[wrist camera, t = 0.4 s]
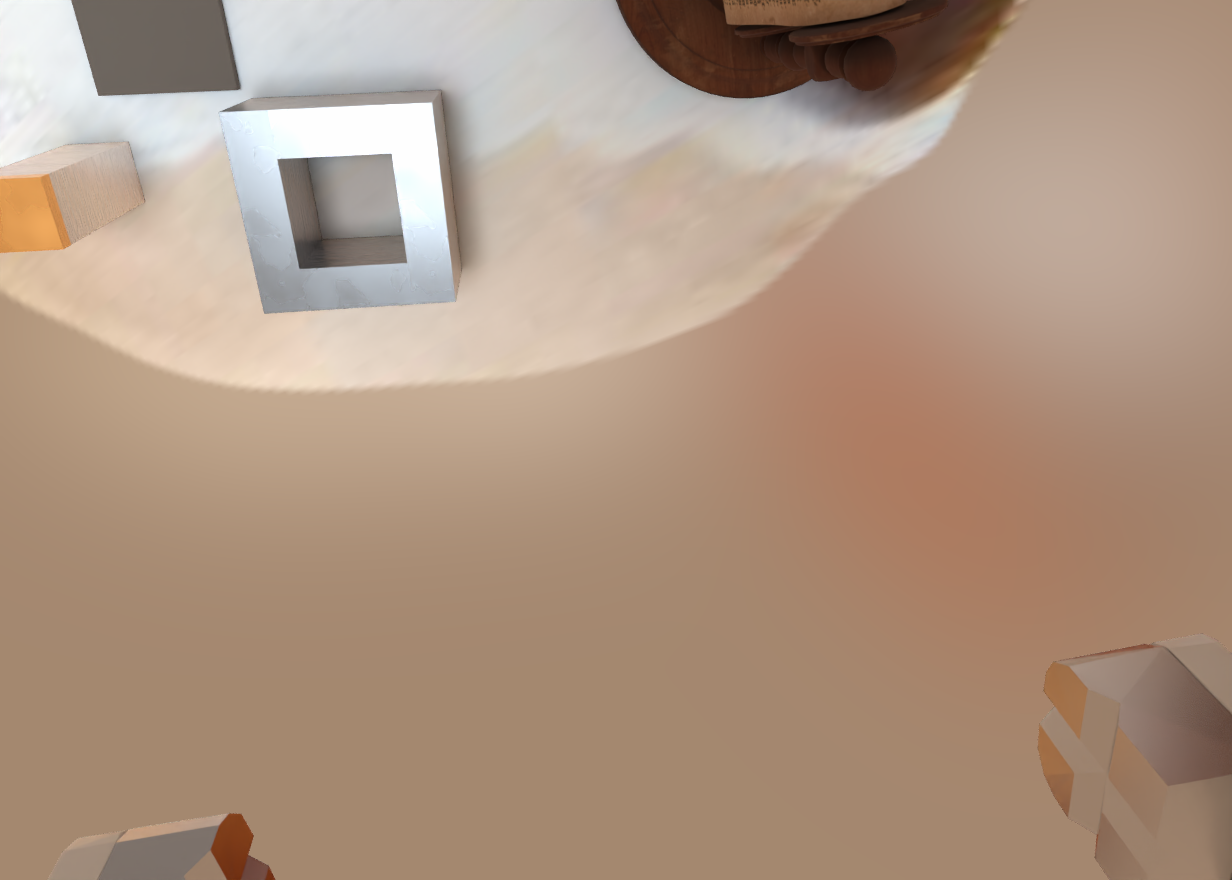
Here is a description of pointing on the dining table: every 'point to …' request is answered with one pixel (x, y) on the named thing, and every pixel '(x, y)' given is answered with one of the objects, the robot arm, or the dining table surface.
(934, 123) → the dining table surface
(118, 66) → the mat
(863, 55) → the scroll
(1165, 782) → the robot arm
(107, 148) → the orange tipped grey block
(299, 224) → the square frame
